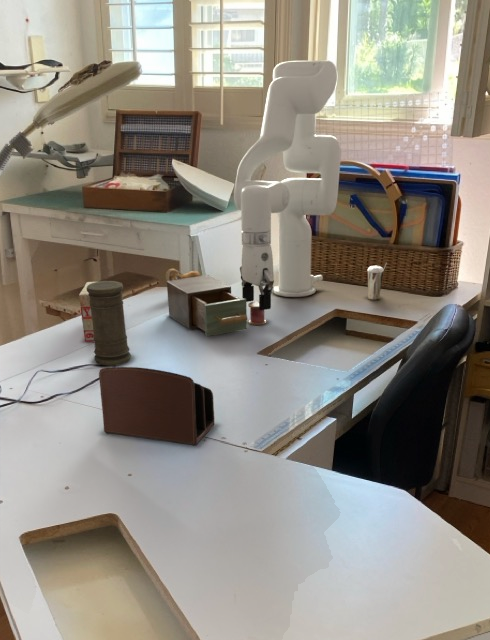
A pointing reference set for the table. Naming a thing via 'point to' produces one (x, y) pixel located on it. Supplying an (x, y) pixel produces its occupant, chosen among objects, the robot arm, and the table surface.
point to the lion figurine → (180, 275)
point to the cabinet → (181, 295)
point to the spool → (256, 314)
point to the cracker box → (86, 314)
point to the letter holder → (155, 405)
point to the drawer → (218, 312)
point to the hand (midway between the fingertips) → (256, 305)
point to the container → (108, 323)
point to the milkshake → (374, 281)
